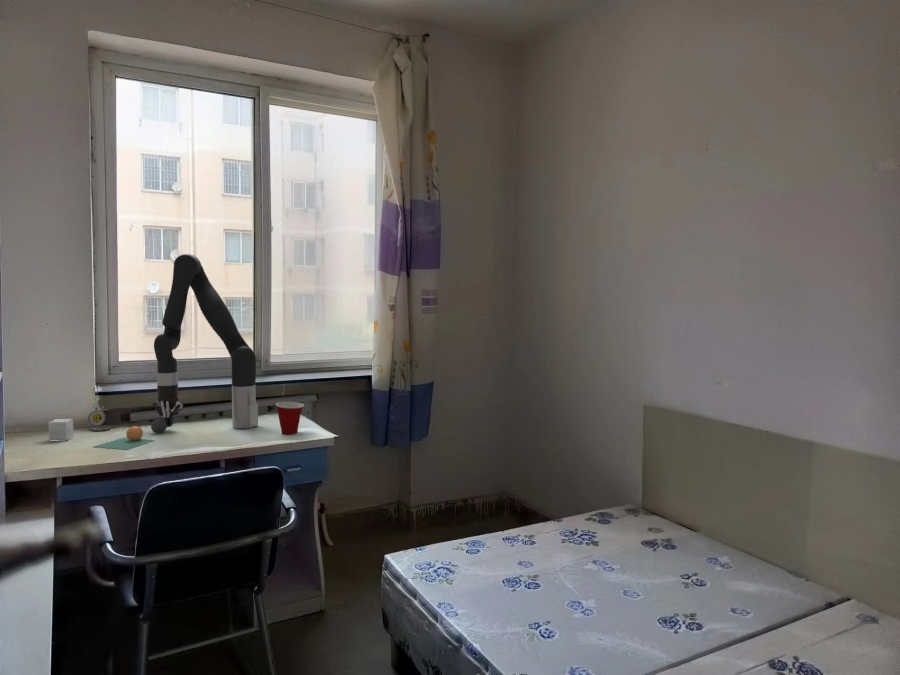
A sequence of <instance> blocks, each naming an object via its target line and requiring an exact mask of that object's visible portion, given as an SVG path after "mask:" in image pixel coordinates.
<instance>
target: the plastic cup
mask: <svg viewBox="0 0 900 675" xmlns="http://www.w3.org/2000/svg"><path fill="white" fill-rule="evenodd" d="M275 406H276V410H277V413H278V421H279V426H280V431H281V434H282V435H283V434H294V435H296V434H295V433H297V434H298V431H299V425H300V419H301V414H302V410H303V408H304V406H305V404H303V403H302V402H301V403H300V402H297V401H281V402H280V401H278V402H276V403H275Z"/></svg>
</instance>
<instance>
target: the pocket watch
mask: <svg viewBox="0 0 900 675" xmlns="http://www.w3.org/2000/svg"><path fill="white" fill-rule="evenodd" d="M95 405H98V406H95ZM94 406H95V407H94ZM99 407H100V404H98V403H95V404H93V405H92V408H94V410H92V411H90V413H88V416H87V422H88V424H89V425H90V426H91V431H93V432H103V431H108V430H110V429H111V428H112V427H111V425H103V424H104V423H105V422H106V419H107V418H106V416H107V415H106V414H105V412H104V411H102V410H100V409H99ZM99 427H109V428H105V429H95V428H99ZM102 430H103V431H102Z"/></svg>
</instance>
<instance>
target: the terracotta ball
mask: <svg viewBox="0 0 900 675" xmlns="http://www.w3.org/2000/svg"><path fill="white" fill-rule="evenodd" d="M125 433H126V438H128V439H129V440H131V441H137V440H139V439H142V437H143V435H144V430H143V428H141V427H140V426H137V425H132V426H130V427H129V428H128V429H127V430H126V432H125Z"/></svg>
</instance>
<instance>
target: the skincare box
mask: <svg viewBox="0 0 900 675" xmlns="http://www.w3.org/2000/svg"><path fill="white" fill-rule="evenodd" d="M47 425H48V441H49V440H60V441H59V442H62V441H61V440H68V439H70V438H72V437H74V438H75V436H74V435H75V432H74V431H75V430H74V419H73V418H55V419H53V420H51V421H49V422H47ZM72 439H73V438H72ZM70 440H71V439H70ZM68 441H69V440H68Z"/></svg>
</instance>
